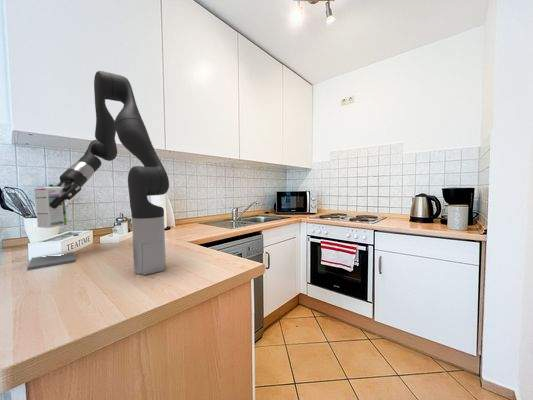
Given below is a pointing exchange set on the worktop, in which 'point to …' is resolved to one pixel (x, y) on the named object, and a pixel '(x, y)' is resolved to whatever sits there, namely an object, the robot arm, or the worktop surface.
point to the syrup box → (45, 213)
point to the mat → (51, 261)
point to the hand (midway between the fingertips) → (45, 206)
